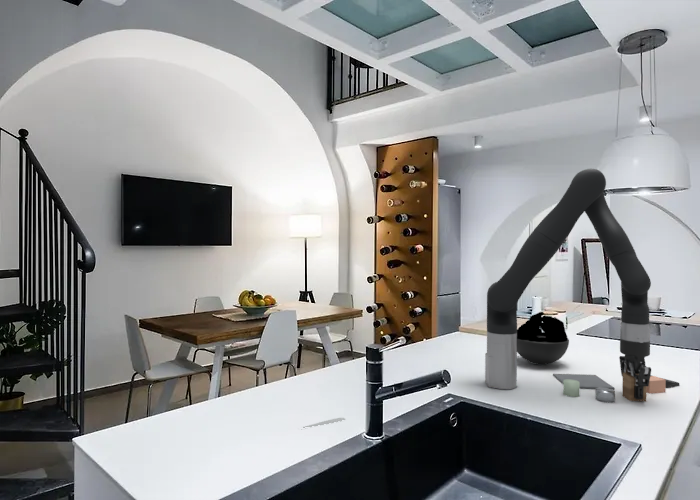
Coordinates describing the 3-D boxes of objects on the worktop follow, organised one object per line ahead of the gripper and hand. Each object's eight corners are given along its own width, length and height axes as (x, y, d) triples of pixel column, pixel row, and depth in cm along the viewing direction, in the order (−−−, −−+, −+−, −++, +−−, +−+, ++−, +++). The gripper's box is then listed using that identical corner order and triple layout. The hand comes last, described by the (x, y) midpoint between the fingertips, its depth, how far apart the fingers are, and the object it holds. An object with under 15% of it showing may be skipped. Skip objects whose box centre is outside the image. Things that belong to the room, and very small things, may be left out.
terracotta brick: (649, 394, 141) (649, 381, 141) (638, 390, 145) (638, 377, 145) (665, 392, 142) (665, 379, 142) (653, 388, 146) (654, 376, 146)
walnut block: (629, 400, 135) (630, 376, 135) (622, 395, 139) (622, 372, 139) (646, 401, 134) (646, 377, 134) (638, 396, 139) (638, 372, 139)
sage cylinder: (566, 396, 138) (566, 383, 138) (561, 392, 143) (561, 379, 143) (581, 397, 138) (581, 383, 138) (576, 392, 142) (576, 379, 142)
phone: (635, 371, 163) (681, 383, 149) (635, 374, 163) (681, 386, 149) (620, 374, 159) (665, 386, 146) (620, 377, 159) (665, 389, 146)
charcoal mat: (567, 388, 146) (567, 386, 146) (552, 375, 160) (552, 373, 160) (614, 389, 145) (614, 387, 145) (595, 376, 159) (595, 374, 159)
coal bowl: (552, 374, 161) (552, 320, 161) (500, 362, 176) (501, 313, 176) (578, 364, 174) (579, 314, 173) (528, 354, 189) (529, 308, 189)
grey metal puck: (599, 403, 133) (599, 392, 133) (592, 397, 138) (592, 387, 138) (618, 403, 133) (618, 393, 133) (610, 397, 138) (610, 387, 138)
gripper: (610, 333, 144) (609, 387, 144) (633, 343, 130) (633, 404, 130) (635, 333, 143) (635, 388, 143) (662, 343, 129) (661, 405, 129)
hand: (634, 395), depth 137 cm, fingers closed on walnut block, 4 cm apart
